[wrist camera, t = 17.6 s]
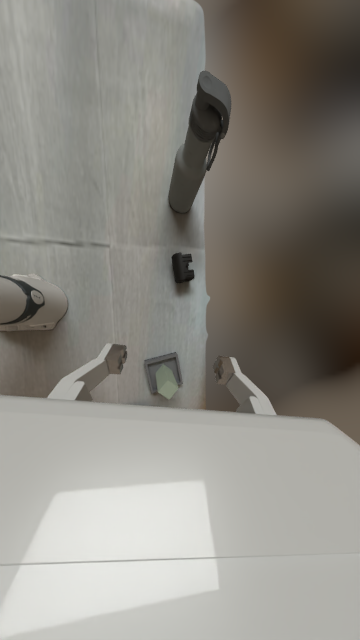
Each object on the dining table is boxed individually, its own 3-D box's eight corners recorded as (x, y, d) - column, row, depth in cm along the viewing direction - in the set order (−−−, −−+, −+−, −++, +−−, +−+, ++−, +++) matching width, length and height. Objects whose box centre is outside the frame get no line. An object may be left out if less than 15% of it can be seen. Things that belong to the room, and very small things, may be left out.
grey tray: (151, 389, 56) (151, 393, 54) (144, 360, 55) (144, 363, 52) (181, 380, 59) (182, 383, 57) (175, 352, 58) (177, 354, 55)
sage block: (164, 379, 57) (169, 399, 44) (155, 373, 55) (157, 392, 43) (171, 370, 57) (178, 387, 44) (163, 363, 56) (167, 380, 43)
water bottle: (193, 193, 54) (241, 75, 27) (190, 217, 54) (234, 127, 27) (169, 183, 51) (195, 43, 24) (166, 209, 52) (188, 100, 24)
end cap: (169, 259, 54) (173, 252, 47) (186, 258, 55) (191, 251, 49) (174, 284, 55) (177, 280, 48) (189, 282, 57) (195, 278, 50)
